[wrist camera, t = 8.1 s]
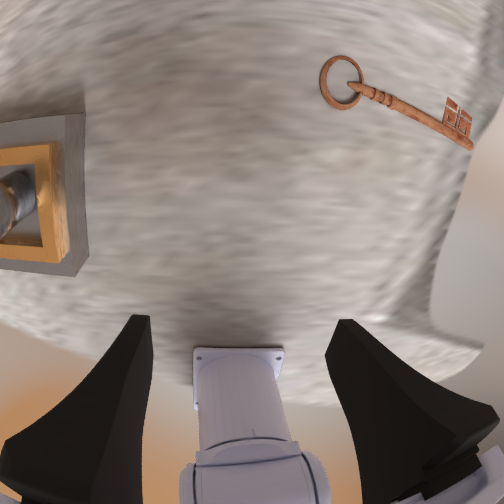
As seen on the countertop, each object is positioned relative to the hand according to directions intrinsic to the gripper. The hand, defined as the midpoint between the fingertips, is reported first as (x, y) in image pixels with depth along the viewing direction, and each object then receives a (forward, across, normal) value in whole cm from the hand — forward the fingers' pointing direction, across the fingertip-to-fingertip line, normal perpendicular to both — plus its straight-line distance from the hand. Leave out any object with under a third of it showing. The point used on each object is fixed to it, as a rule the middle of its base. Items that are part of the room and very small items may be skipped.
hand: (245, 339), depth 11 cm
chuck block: (+10, +14, -2) cm, 18 cm away
